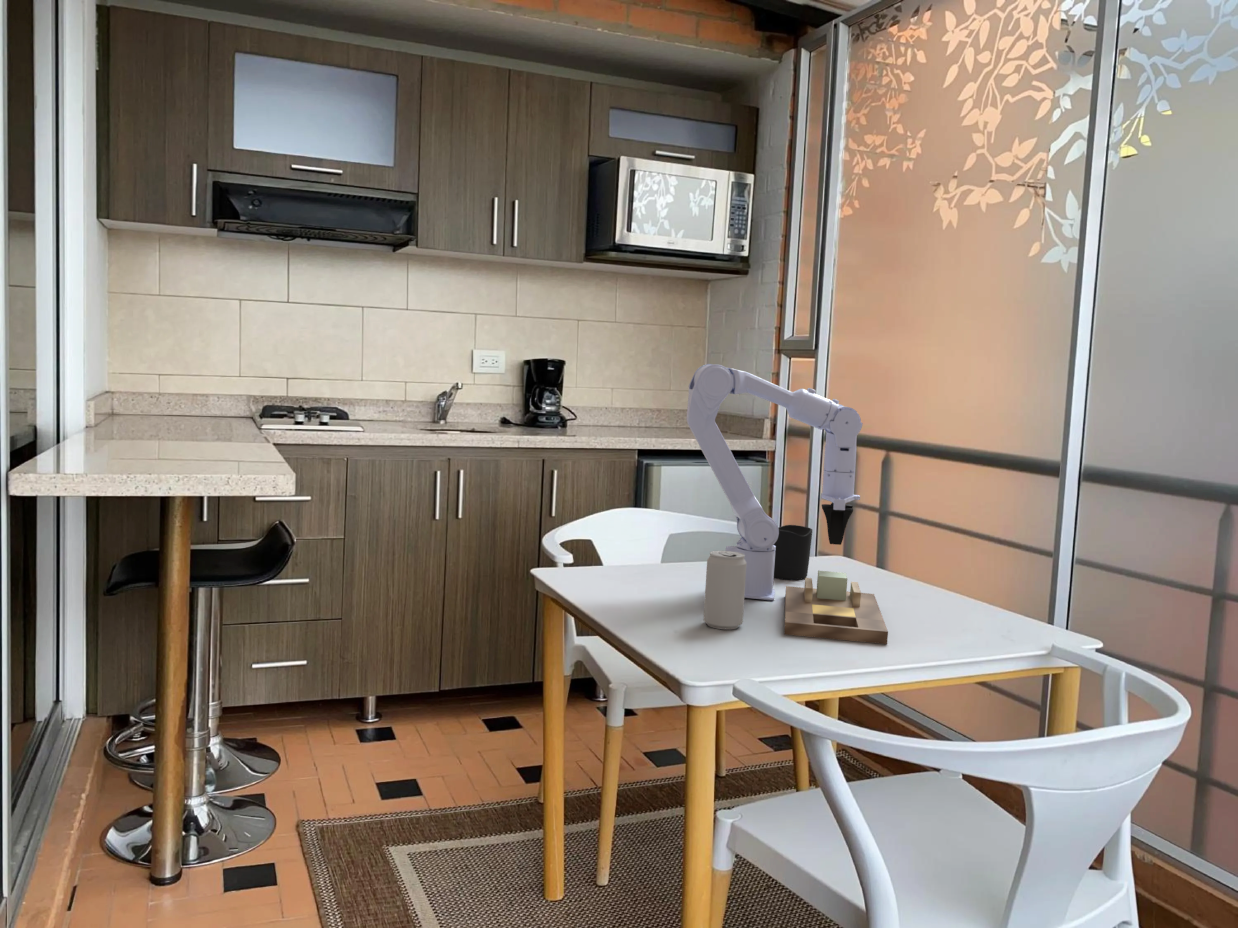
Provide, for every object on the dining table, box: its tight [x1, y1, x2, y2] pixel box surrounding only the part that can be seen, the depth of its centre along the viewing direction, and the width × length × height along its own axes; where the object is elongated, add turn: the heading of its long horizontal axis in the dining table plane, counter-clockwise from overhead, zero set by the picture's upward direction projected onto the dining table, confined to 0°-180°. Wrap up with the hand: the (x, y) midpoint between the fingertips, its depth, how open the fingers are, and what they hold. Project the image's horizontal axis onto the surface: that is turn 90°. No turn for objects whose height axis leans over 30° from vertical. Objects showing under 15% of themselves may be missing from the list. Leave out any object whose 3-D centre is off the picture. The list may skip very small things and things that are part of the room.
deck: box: [783, 577, 889, 645], centre depth 178 cm, size 16×28×4 cm, turn 171°
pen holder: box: [773, 524, 813, 581], centre depth 212 cm, size 9×9×10 cm
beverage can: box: [703, 550, 747, 631], centre depth 169 cm, size 6×6×12 cm
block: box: [816, 570, 848, 601], centre depth 186 cm, size 5×5×4 cm
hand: (835, 543), depth 193 cm, fingers closed
